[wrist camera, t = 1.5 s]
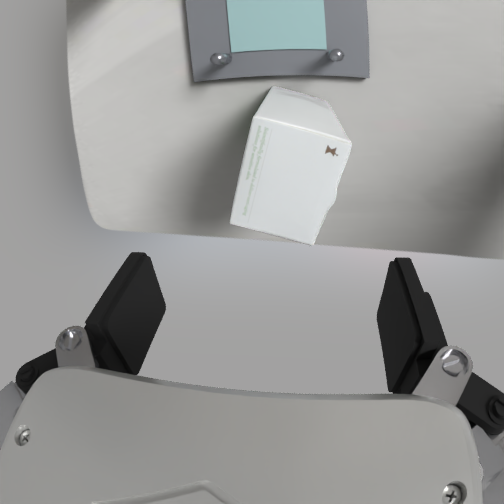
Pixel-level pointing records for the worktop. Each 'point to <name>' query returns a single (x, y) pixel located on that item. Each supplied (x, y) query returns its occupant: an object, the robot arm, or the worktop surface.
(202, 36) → the grey base plate
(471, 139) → the worktop surface
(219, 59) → the guide pins
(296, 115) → the skincare box
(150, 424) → the robot arm
